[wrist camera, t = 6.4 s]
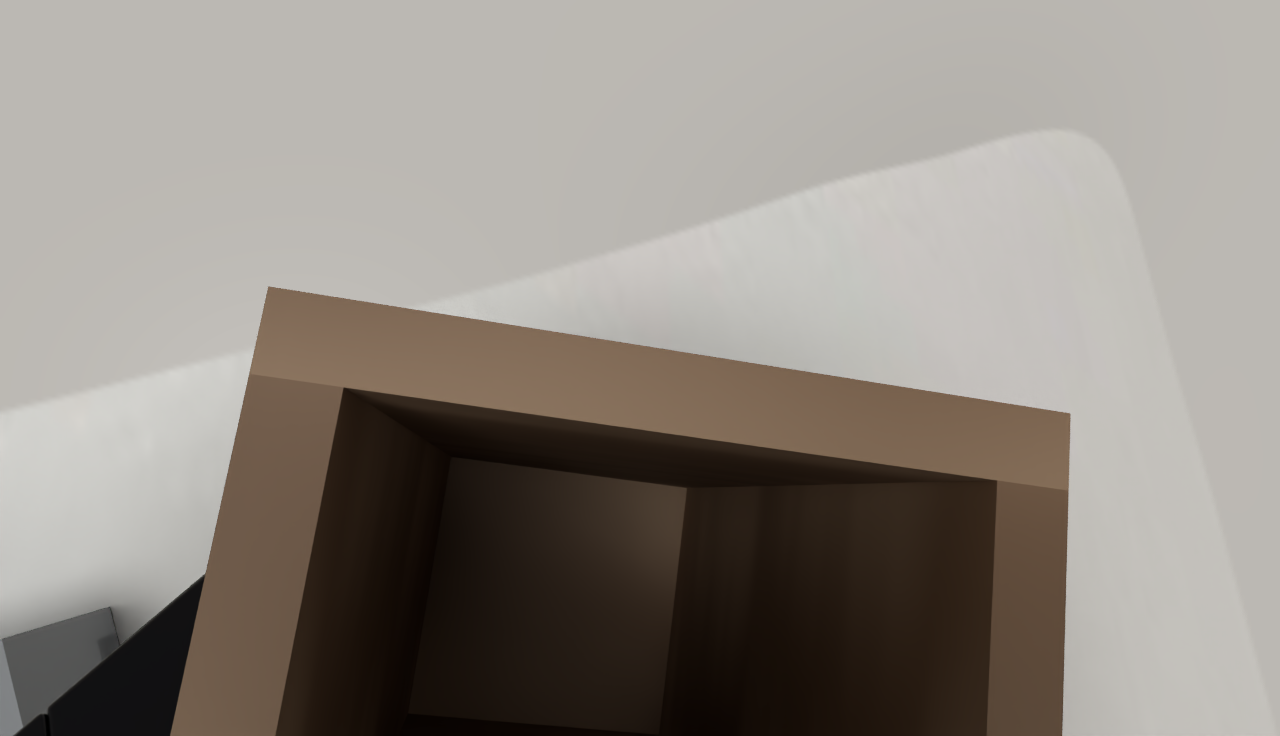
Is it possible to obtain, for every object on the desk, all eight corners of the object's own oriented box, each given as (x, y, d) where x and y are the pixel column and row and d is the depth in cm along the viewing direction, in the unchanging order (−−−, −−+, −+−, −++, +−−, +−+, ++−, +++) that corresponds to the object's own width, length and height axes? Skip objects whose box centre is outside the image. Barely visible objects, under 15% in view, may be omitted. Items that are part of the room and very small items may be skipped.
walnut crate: (678, 759, 16) (1047, 1331, 5) (374, 735, 15) (33, 1361, 4) (710, 464, 17) (1070, 412, 6) (428, 425, 16) (268, 287, 5)
